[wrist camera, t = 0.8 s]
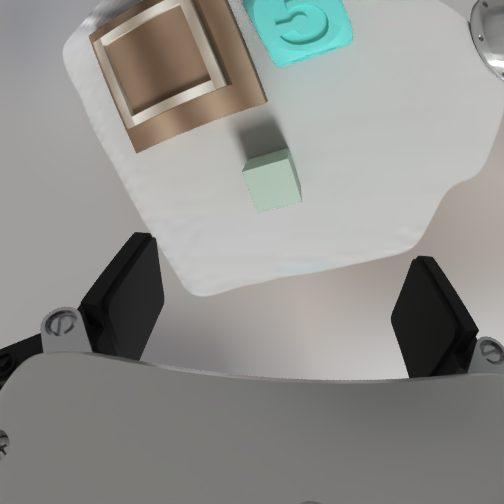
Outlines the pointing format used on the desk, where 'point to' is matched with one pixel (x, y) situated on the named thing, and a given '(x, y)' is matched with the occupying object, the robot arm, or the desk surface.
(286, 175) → the sage block
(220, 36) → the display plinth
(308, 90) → the desk surface
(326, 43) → the decorative dice
